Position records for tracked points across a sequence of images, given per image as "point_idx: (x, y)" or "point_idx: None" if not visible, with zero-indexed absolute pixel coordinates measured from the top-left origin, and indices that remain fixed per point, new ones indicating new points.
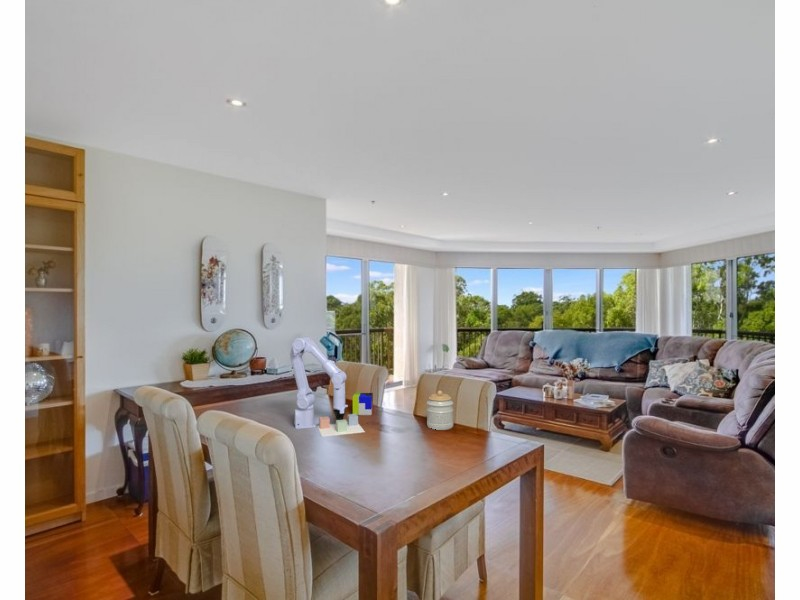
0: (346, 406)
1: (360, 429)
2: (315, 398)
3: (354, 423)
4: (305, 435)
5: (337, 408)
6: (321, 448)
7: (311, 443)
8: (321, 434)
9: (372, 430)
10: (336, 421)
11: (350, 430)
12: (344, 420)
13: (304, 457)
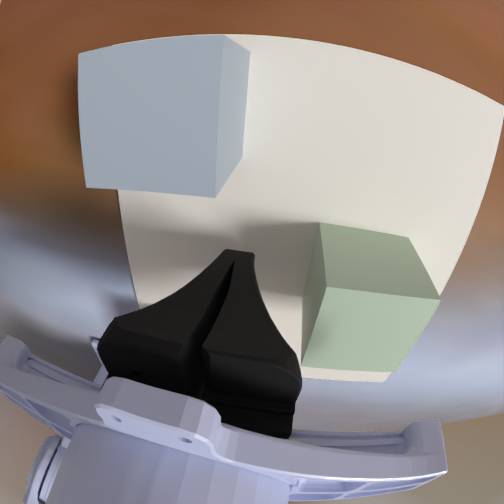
0: (218, 432)
1: (426, 96)
2: (41, 469)
3: (244, 95)
4: (298, 413)
5: (322, 496)
6: (488, 385)
7: (417, 408)
8: (346, 380)
9: (475, 14)
10: (327, 364)
11: (402, 201)
12: (367, 308)
13: (490, 413)
